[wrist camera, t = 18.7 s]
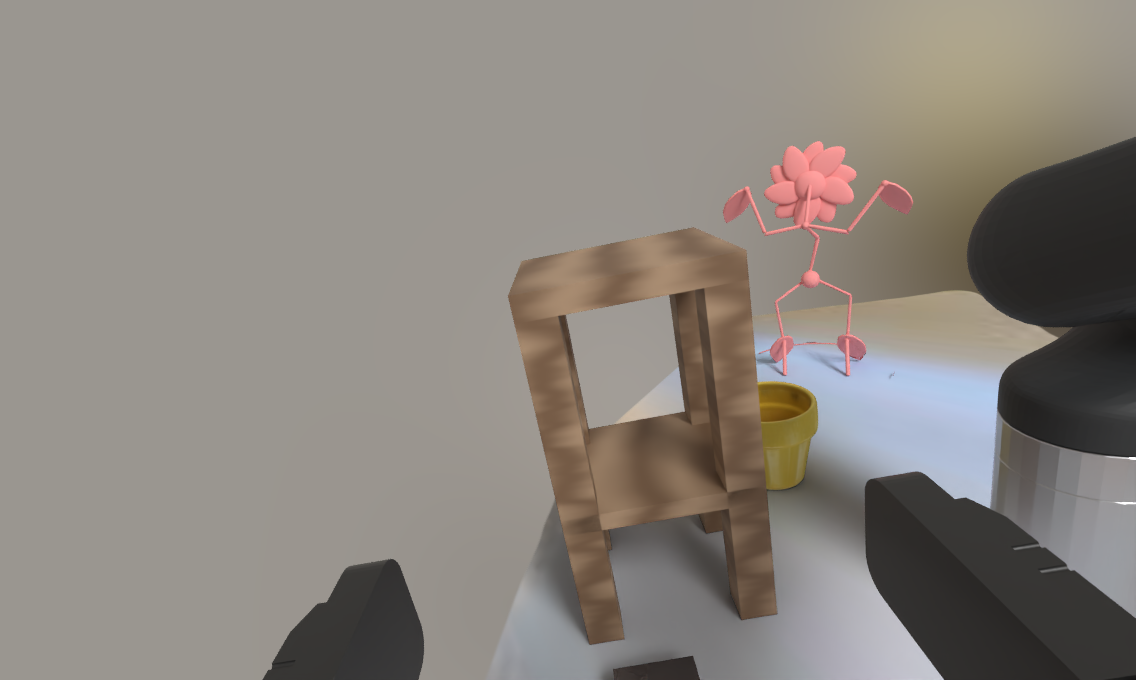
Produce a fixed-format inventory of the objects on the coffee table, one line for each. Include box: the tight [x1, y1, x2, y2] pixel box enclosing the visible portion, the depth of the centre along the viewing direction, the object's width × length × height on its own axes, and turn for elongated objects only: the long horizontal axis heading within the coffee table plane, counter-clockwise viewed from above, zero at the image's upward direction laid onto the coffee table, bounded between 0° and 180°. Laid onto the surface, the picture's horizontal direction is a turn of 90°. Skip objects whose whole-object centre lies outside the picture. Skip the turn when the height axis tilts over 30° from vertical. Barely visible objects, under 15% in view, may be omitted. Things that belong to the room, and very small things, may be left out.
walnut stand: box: [508, 227, 777, 645], centre depth 46 cm, size 16×14×31 cm
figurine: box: [723, 141, 913, 375], centre depth 83 cm, size 15×26×35 cm, turn 64°
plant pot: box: [758, 381, 818, 490], centre depth 60 cm, size 10×10×10 cm
